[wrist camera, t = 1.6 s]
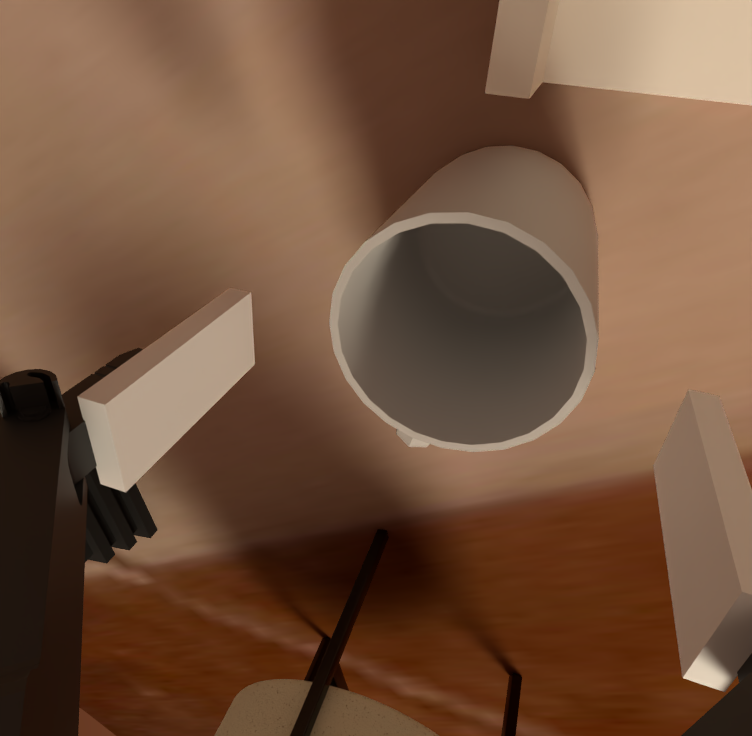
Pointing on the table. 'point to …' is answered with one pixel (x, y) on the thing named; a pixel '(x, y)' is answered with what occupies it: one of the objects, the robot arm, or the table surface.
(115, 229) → the table surface
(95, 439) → the robot arm
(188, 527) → the table surface
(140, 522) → the chess piece
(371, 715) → the planter
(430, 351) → the cup
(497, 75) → the tray
